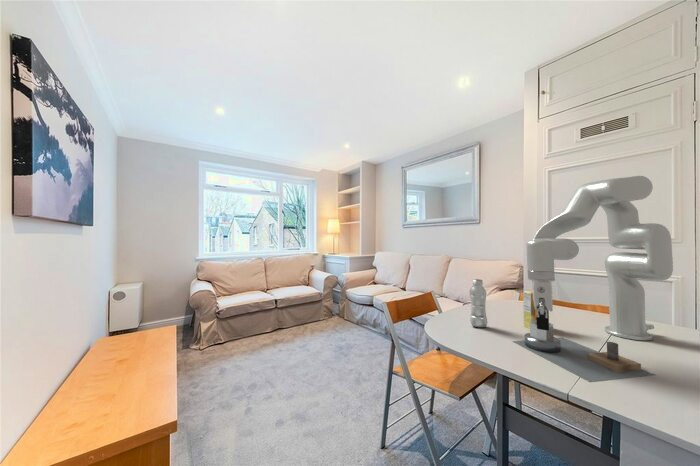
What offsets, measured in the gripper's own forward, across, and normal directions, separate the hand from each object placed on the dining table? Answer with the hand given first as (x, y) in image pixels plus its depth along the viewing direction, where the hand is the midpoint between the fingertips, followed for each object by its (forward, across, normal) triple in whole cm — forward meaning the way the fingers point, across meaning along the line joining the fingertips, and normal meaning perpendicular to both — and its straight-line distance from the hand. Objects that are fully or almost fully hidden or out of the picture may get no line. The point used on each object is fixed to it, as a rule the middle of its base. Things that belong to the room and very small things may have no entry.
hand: (543, 325), depth 90 cm
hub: (+7, -1, 0) cm, 7 cm away
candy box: (+8, +21, +3) cm, 23 cm away
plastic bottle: (+8, +10, +22) cm, 26 cm away
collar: (+4, -1, 0) cm, 4 cm away
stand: (+8, -4, -16) cm, 18 cm away
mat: (+8, -3, -8) cm, 11 cm away
